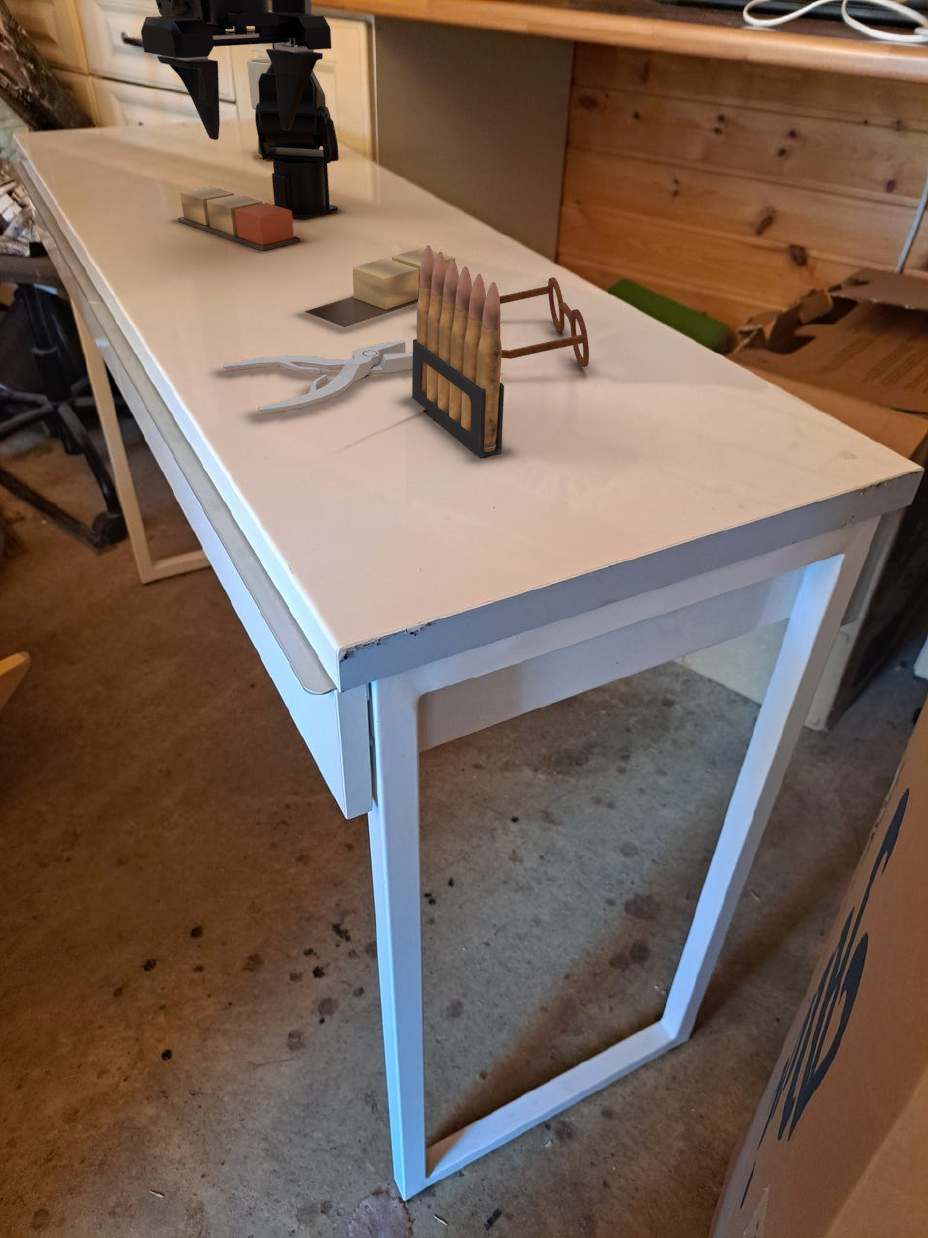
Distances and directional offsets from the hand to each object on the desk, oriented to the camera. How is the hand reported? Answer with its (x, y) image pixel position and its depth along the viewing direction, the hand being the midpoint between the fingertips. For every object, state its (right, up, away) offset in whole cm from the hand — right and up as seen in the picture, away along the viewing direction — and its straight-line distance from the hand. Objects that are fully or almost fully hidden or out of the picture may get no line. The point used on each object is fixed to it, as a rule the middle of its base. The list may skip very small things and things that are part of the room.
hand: (251, 134), depth 90 cm
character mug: (-7, +22, +48) cm, 53 cm away
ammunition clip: (+21, -36, -24) cm, 48 cm away
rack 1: (-5, -3, +15) cm, 16 cm away
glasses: (+25, -26, -12) cm, 38 cm away
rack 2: (+14, -19, -3) cm, 24 cm away
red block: (-1, -5, +12) cm, 13 cm away
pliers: (+11, -30, -18) cm, 37 cm away
